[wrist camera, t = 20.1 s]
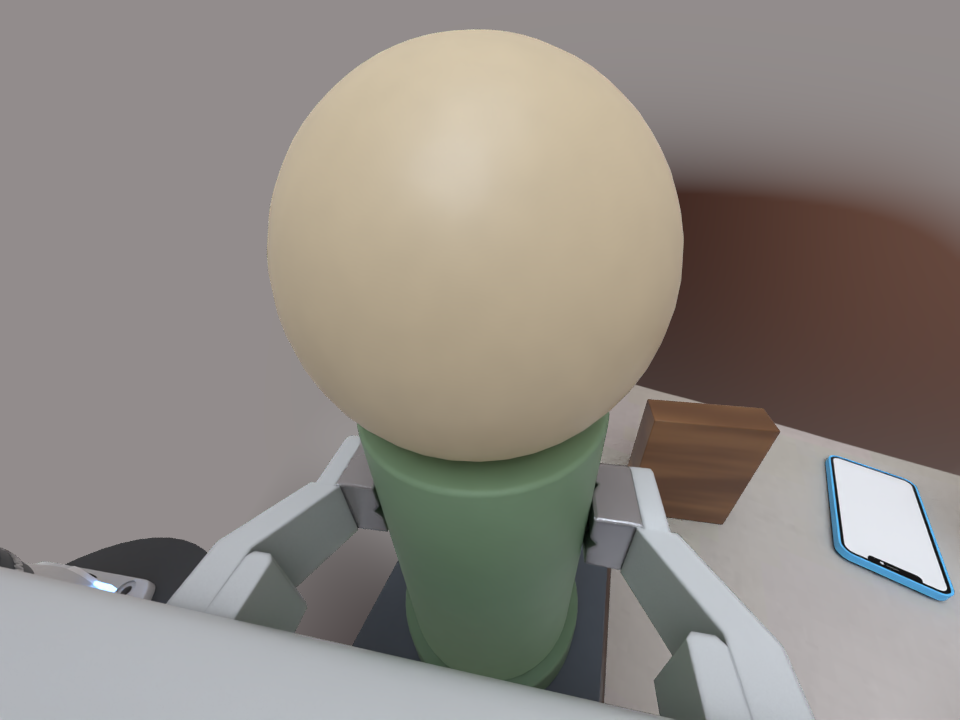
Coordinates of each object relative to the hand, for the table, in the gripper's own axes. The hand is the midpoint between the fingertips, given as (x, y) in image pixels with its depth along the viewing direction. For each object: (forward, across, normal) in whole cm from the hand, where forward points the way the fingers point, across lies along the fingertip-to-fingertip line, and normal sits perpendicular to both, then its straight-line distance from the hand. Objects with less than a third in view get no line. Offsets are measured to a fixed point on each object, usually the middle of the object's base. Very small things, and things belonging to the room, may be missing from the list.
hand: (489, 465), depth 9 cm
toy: (+4, 0, +4) cm, 6 cm away
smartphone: (+22, -37, +29) cm, 52 cm away
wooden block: (+20, -17, +29) cm, 39 cm away
